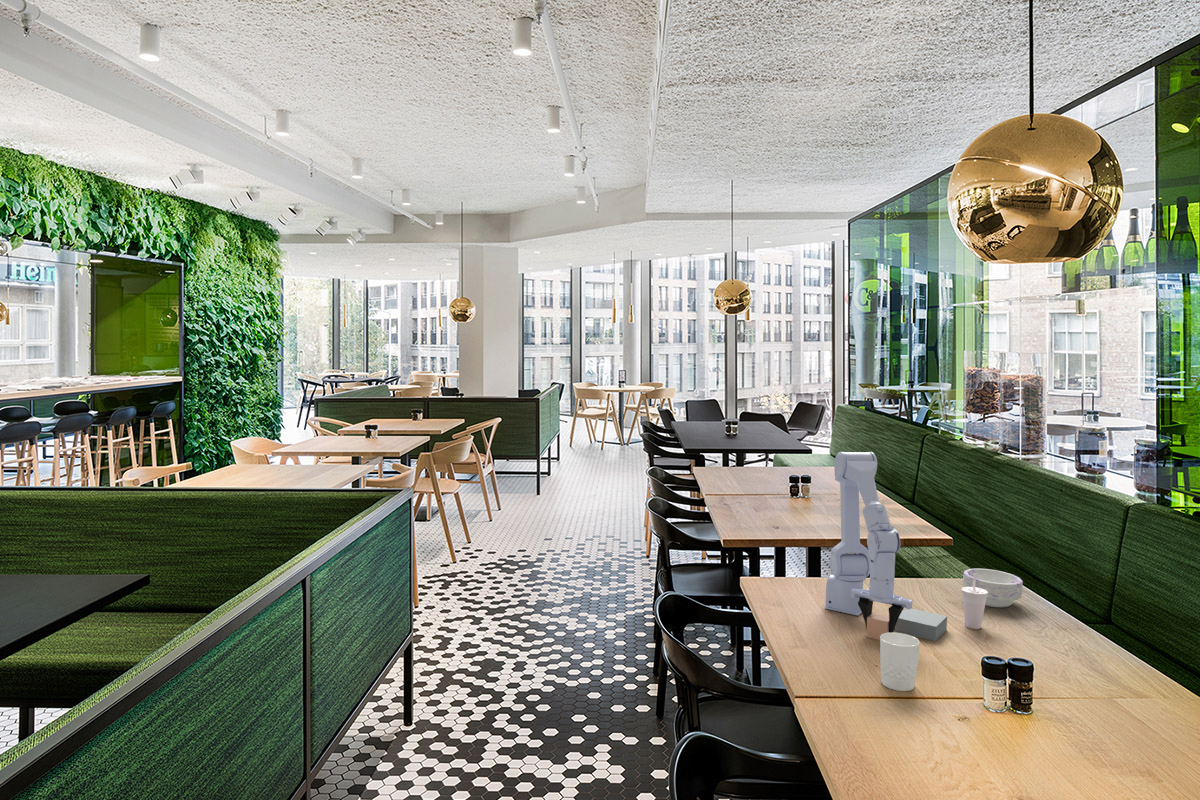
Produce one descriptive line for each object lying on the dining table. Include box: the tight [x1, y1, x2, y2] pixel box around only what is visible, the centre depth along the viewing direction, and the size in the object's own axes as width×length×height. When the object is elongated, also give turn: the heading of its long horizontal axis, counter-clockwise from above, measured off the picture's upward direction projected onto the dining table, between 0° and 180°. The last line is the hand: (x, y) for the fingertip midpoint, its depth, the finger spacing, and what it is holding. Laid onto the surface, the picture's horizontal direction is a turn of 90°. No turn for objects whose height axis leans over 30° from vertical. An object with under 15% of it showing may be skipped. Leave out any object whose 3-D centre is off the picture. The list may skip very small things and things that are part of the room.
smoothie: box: [960, 573, 988, 630], centre depth 199 cm, size 6×6×14 cm
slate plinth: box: [894, 607, 948, 642], centre depth 196 cm, size 10×10×4 cm
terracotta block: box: [865, 611, 889, 641], centre depth 191 cm, size 5×5×5 cm
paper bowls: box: [962, 568, 1024, 608], centre depth 219 cm, size 15×15×8 cm
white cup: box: [879, 632, 921, 692], centre depth 163 cm, size 8×8×10 cm
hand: (879, 630), depth 191 cm, fingers closed on terracotta block, 5 cm apart
